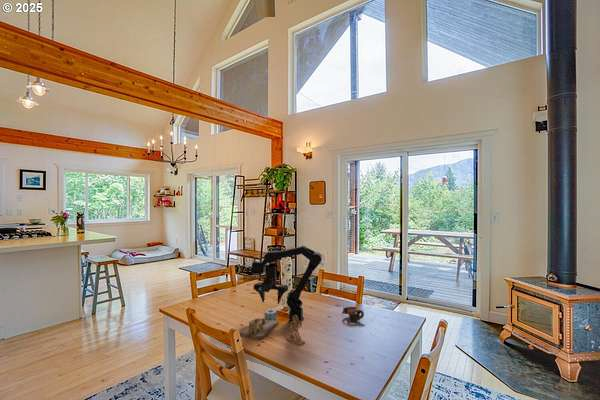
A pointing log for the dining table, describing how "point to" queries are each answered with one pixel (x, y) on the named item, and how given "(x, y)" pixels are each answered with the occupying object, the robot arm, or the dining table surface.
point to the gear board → (259, 328)
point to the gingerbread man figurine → (292, 338)
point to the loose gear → (271, 314)
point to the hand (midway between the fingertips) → (270, 303)
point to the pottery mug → (353, 314)
